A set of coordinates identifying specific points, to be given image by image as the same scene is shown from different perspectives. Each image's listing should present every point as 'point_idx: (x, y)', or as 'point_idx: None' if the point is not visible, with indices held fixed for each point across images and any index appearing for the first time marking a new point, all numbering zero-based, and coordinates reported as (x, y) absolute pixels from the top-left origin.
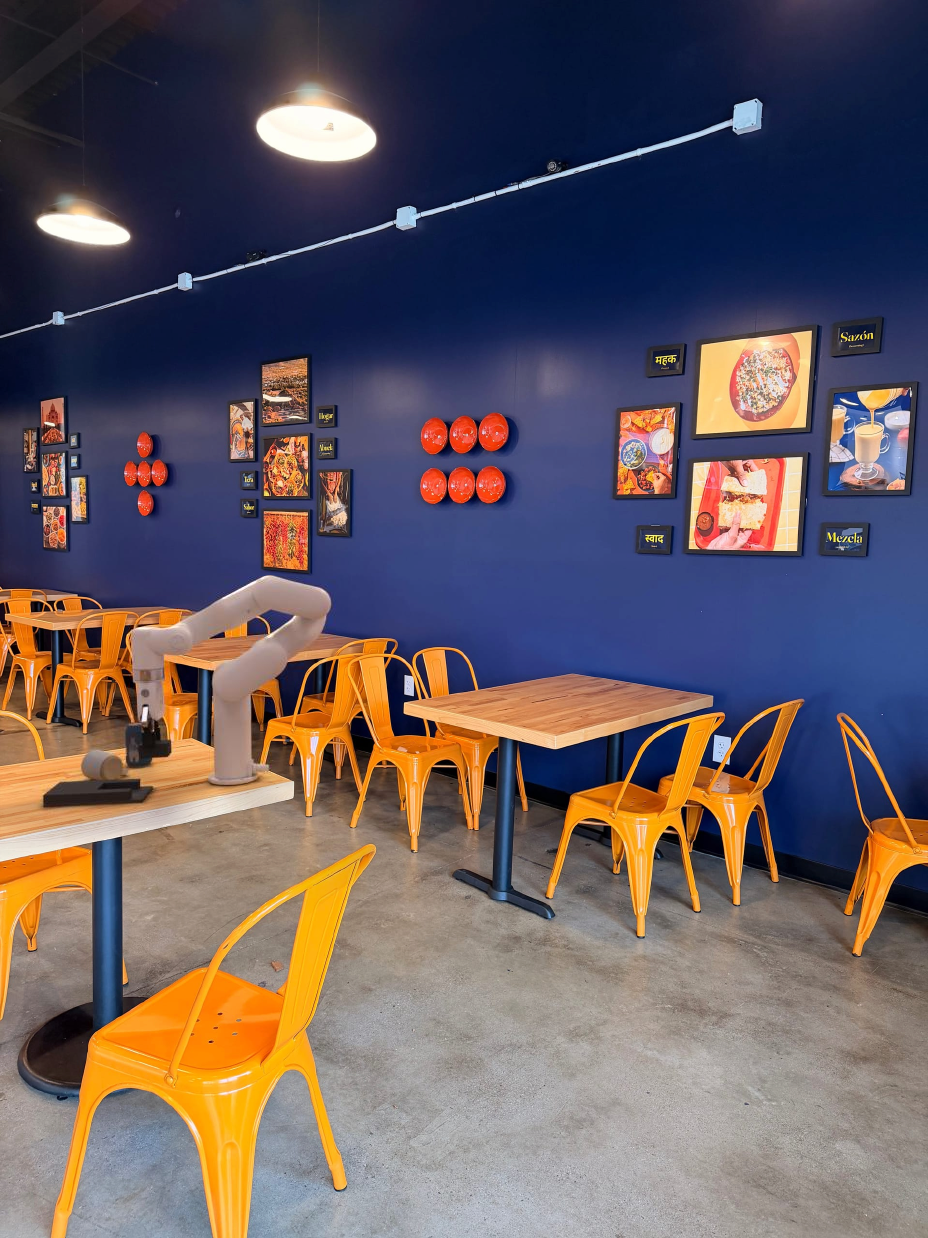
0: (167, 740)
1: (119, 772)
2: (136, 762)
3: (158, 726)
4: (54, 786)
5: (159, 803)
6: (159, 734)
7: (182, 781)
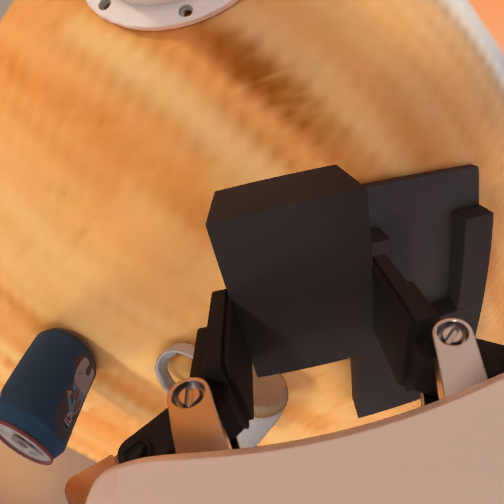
0: (247, 236)
1: None
2: (89, 358)
3: (209, 387)
4: (399, 405)
5: (479, 110)
6: (230, 328)
7: (211, 123)
